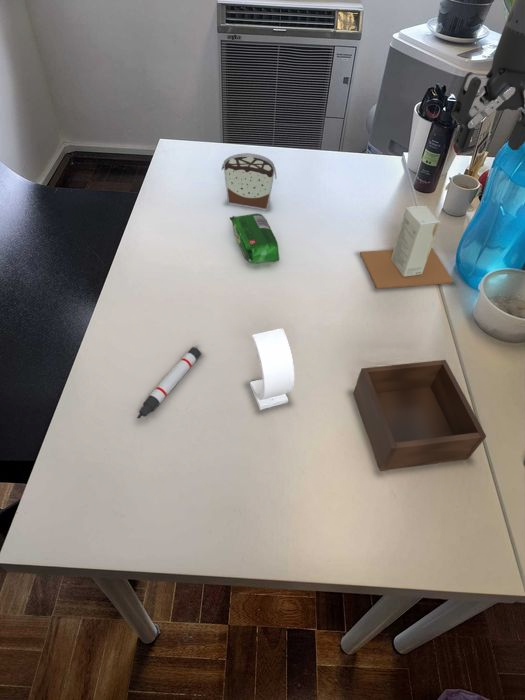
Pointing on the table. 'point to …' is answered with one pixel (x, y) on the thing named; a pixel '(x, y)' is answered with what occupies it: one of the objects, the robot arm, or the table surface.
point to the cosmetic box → (415, 240)
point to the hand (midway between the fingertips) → (486, 148)
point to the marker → (169, 382)
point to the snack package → (255, 238)
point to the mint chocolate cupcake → (249, 180)
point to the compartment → (416, 415)
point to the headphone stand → (273, 369)
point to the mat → (390, 276)
